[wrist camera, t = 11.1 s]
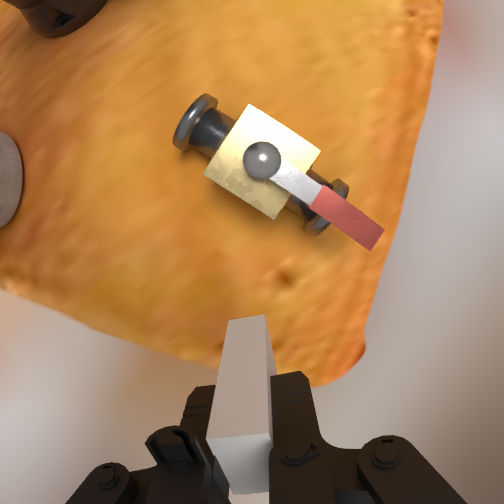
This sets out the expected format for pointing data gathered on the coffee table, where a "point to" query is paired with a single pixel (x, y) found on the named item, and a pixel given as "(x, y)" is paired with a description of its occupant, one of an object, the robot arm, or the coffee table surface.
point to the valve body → (232, 150)
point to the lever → (311, 193)
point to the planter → (9, 178)
